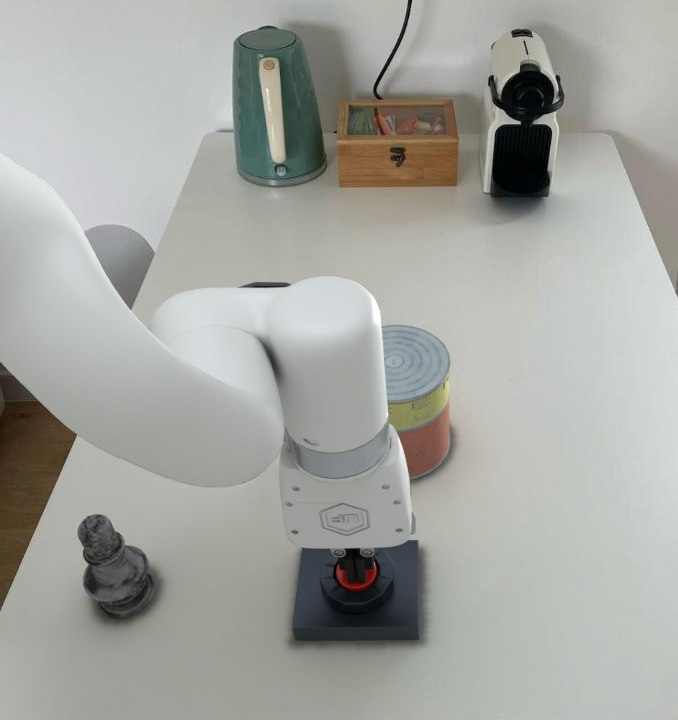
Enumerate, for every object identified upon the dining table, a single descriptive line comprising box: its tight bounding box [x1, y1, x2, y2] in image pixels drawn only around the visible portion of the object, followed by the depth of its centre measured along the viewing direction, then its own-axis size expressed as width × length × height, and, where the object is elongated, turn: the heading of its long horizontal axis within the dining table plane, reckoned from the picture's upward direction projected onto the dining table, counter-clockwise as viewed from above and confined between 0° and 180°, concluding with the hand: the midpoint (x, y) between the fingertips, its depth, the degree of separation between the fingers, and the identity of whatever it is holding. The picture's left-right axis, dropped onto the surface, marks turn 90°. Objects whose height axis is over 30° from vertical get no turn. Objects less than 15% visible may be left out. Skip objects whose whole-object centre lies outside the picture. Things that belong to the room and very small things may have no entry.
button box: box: [292, 539, 420, 642], centre depth 74 cm, size 11×9×4 cm
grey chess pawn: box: [77, 513, 156, 620], centre depth 72 cm, size 6×6×12 cm
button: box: [336, 562, 377, 592], centre depth 73 cm, size 4×4×2 cm
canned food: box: [381, 324, 451, 481], centre depth 85 cm, size 11×11×12 cm
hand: (358, 569), depth 72 cm, fingers closed
